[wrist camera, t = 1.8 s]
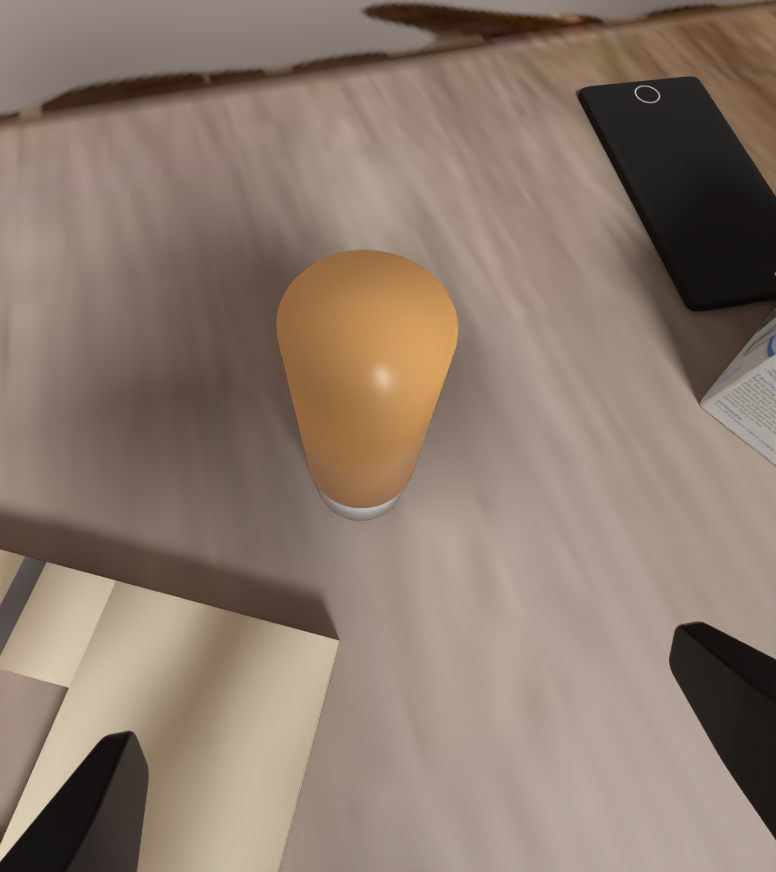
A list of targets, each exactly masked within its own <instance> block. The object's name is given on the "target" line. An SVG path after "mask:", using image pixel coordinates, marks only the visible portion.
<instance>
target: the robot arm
mask: <svg viewBox="0 0 776 872" xmlns="http://www.w3.org/2000/svg"><path fill="white" fill-rule="evenodd" d="M669 664H670V668H671V671H672V673H673V675H674V677H675V679H676V681H677V683H678V684H679V686H680V688H681V690H682V691H683V693H684V695H685V697H686V698H687V700H688V702H689V704H690V706H691V707H692V709H693V711H694V713H695V714H696V716H697V718H698V720H699V721H700V723H701V725H702V727H703V729H704V730H705V732H706V734H707V736H708V737H709V739H710V741H711V743H712V744H713V746H714V748H715V750H716V751H717V753H718V755H719V756H720V758H721V760H722V761H723V763H724V764H725V766H726V768H727V769H728V771H729V772H730V774H731V775H732V777H733V778H734V780H735V781H736V783H737V784H738V785H739V787H740V788H741V790H742V791H743V793H744V794H745V796H746V797H747V799H748V800H749V802H750V803H751V804H752V806H753V807H754V809H755V810H756V812H757V813H758V815H759V816H760V818H761V819H762V820H763V822H764V823H765V825H766V826H767V828H768V829H769V831H770V832H771V834H772V835H773V837H774V838H775V839H776V659H774V658H772V657H770V656H768V655H766V654H765V653H763V652H761V651H759V650H757V649H755V648H753V647H751V646H749V645H747V644H745V643H743V642H741V641H739V640H737V639H735V638H733V637H731V636H729V635H727V634H726V633H724V632H722V631H720V630H718V629H716V628H714V627H712V626H710V625H708V624H706V623H703V622H691V623H686V624H681V625H678V626H677V627H676V629H675V631H674V636H673V641H672V646H671V651H670V657H669ZM148 783H149V768H148V764H147V761H146V758H145V756H144V753H143V751H142V748H141V746H140V743H139V741H138V738H137V736H136V734H135V733H134V732H133V731H124V732H119V733H113V734H109V735H106V736H104V737H103V738H102V739H101V740H100V741H99V742H98V743H97V744H96V745H95V747H94V748H93V749H92V750H91V751H90V753H89V754H88V755H87V756H86V758H85V759H84V760H83V761H82V762H81V764H80V765H79V766H78V767H77V769H76V770H75V771H74V772H73V773H72V775H71V776H70V777H69V778H68V779H67V781H66V782H65V783H64V784H63V786H62V787H61V788H60V789H59V790H58V792H57V793H56V794H55V795H54V797H53V798H52V799H51V800H50V801H49V803H48V804H47V805H46V806H45V807H44V809H43V810H42V811H41V812H40V814H39V815H38V816H37V817H36V818H35V820H34V821H33V822H32V823H31V824H30V826H29V827H28V828H27V829H26V831H25V832H24V833H23V834H22V835H21V837H20V838H19V839H18V840H17V842H16V843H15V844H14V845H13V846H12V848H11V849H10V850H9V851H8V852H7V854H6V855H5V856H4V857H3V859H2V860H1V861H0V872H137V869H138V861H139V853H140V845H141V838H142V830H143V822H144V814H145V807H146V799H147V791H148Z"/></svg>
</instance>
